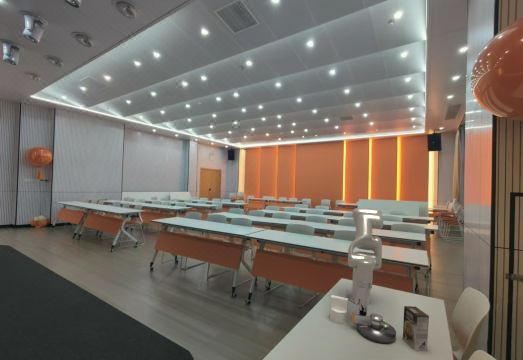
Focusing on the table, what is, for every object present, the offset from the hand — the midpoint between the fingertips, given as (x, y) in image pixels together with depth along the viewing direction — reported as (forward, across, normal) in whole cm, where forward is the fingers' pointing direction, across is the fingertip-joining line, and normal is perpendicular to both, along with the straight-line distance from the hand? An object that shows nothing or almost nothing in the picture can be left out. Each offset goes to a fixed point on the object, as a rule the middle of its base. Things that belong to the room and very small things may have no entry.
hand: (362, 318), depth 133 cm
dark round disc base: (+5, 0, +7) cm, 8 cm away
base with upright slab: (+5, +2, -12) cm, 13 cm away
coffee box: (+5, -3, +23) cm, 24 cm away
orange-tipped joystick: (+1, +2, +3) cm, 4 cm away
